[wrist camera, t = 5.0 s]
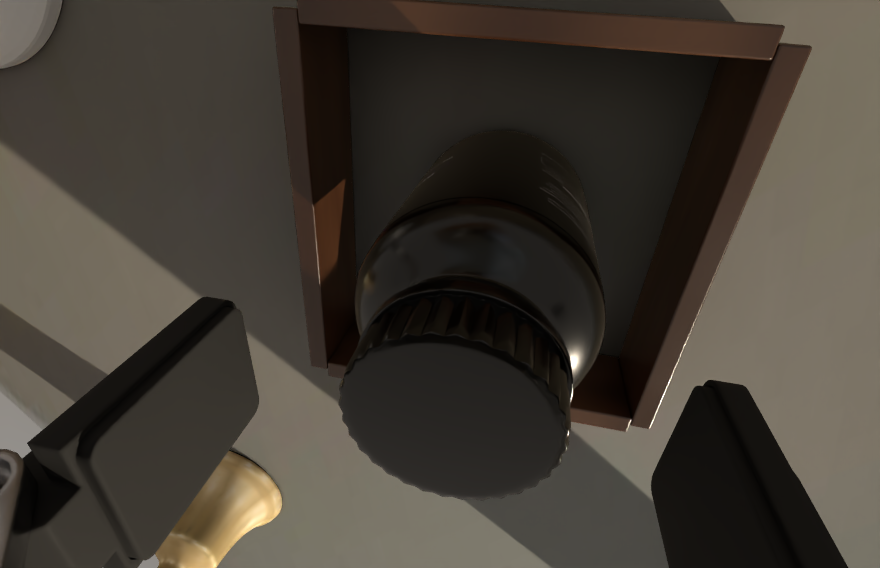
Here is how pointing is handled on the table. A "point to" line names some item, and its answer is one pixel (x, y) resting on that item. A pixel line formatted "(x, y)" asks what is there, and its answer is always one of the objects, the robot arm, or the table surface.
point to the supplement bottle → (477, 322)
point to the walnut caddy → (401, 10)
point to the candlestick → (25, 28)
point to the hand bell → (221, 514)
